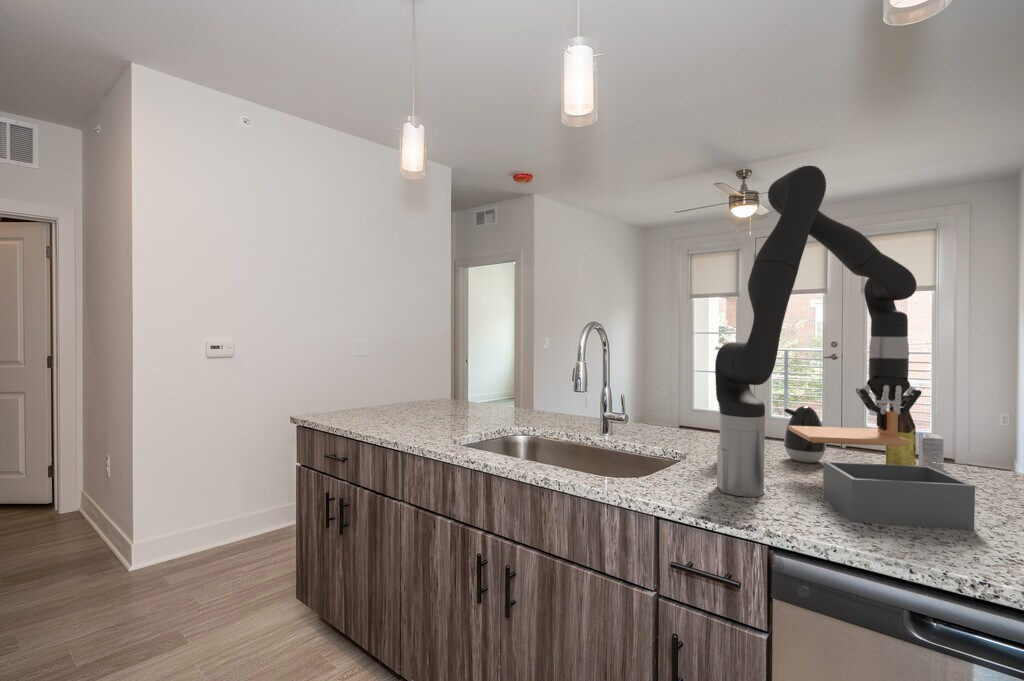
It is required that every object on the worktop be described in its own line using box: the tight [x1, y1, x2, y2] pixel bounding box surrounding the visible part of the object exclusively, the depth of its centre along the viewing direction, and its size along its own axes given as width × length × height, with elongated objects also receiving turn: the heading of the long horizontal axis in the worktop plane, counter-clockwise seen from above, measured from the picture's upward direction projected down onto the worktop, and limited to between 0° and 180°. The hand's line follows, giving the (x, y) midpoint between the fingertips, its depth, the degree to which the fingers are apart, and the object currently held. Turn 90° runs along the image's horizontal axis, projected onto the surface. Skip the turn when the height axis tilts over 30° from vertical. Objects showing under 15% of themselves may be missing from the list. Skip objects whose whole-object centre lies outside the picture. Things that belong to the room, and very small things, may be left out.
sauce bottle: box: [885, 393, 917, 466], centre depth 135 cm, size 7×6×20 cm
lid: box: [787, 409, 911, 447], centre depth 125 cm, size 21×15×7 cm
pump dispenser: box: [783, 405, 827, 464], centre depth 146 cm, size 10×10×15 cm
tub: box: [822, 461, 976, 531], centre depth 104 cm, size 20×14×8 cm
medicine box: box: [918, 432, 945, 473], centre depth 139 cm, size 8×4×9 cm, turn 148°
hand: (887, 429), depth 123 cm, fingers closed on lid, 1 cm apart
